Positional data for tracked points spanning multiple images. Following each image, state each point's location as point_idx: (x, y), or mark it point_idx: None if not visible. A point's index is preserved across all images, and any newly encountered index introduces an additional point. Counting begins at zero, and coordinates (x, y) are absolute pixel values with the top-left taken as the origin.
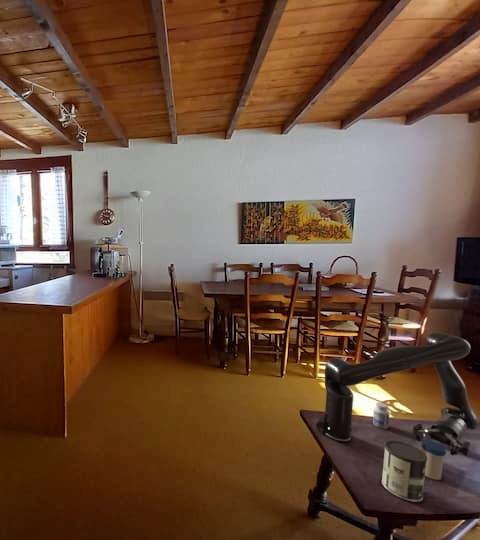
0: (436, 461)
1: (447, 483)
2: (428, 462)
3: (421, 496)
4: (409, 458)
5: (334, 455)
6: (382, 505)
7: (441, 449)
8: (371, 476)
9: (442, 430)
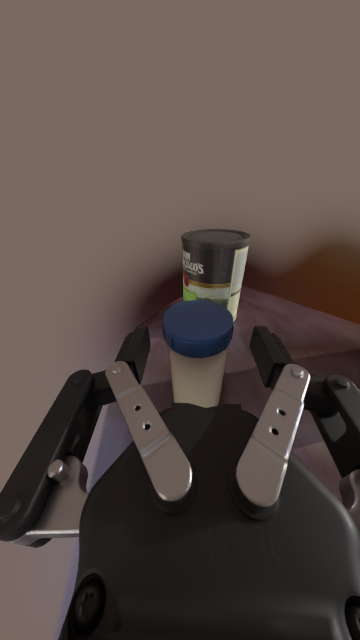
0: None
1: (159, 388)
2: None
3: None
4: (200, 230)
5: (310, 310)
6: None
7: (173, 312)
8: (246, 308)
9: (247, 638)
